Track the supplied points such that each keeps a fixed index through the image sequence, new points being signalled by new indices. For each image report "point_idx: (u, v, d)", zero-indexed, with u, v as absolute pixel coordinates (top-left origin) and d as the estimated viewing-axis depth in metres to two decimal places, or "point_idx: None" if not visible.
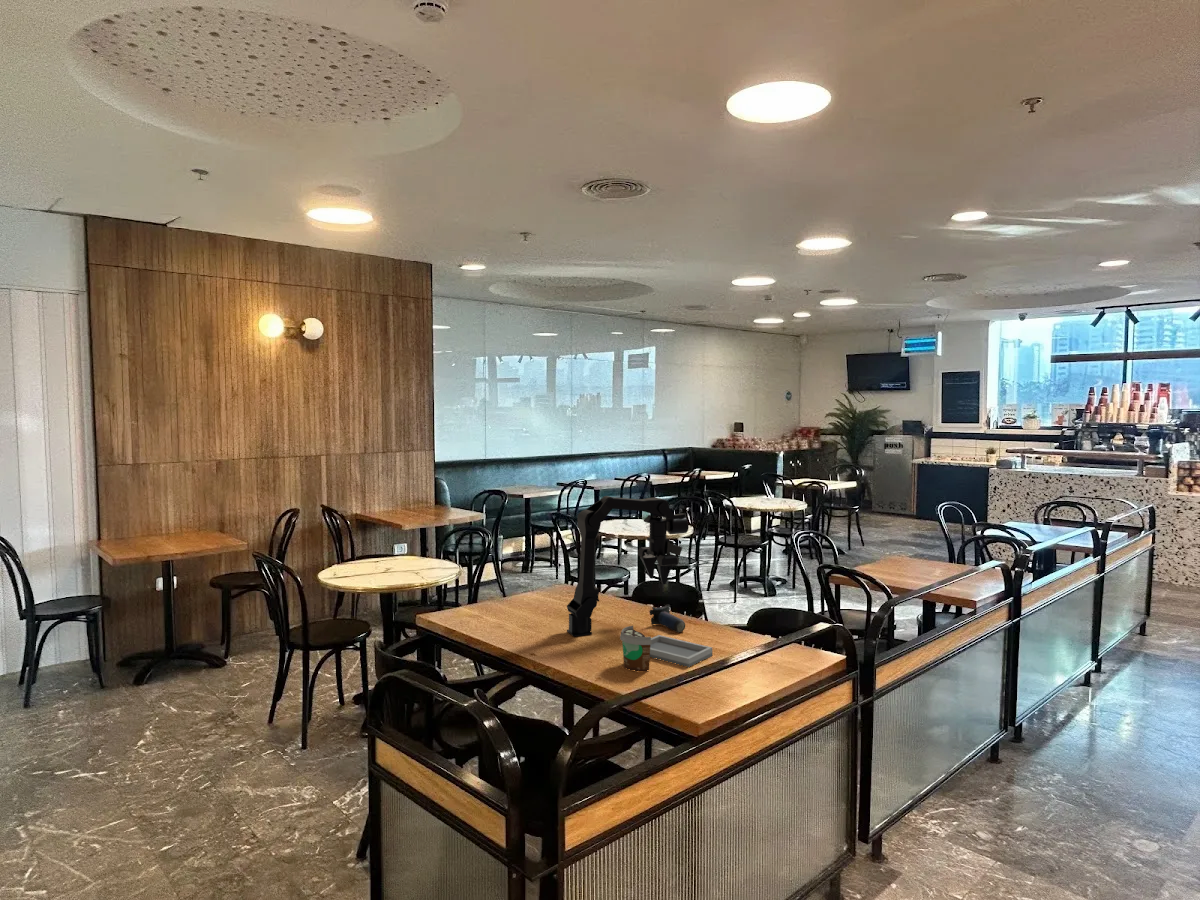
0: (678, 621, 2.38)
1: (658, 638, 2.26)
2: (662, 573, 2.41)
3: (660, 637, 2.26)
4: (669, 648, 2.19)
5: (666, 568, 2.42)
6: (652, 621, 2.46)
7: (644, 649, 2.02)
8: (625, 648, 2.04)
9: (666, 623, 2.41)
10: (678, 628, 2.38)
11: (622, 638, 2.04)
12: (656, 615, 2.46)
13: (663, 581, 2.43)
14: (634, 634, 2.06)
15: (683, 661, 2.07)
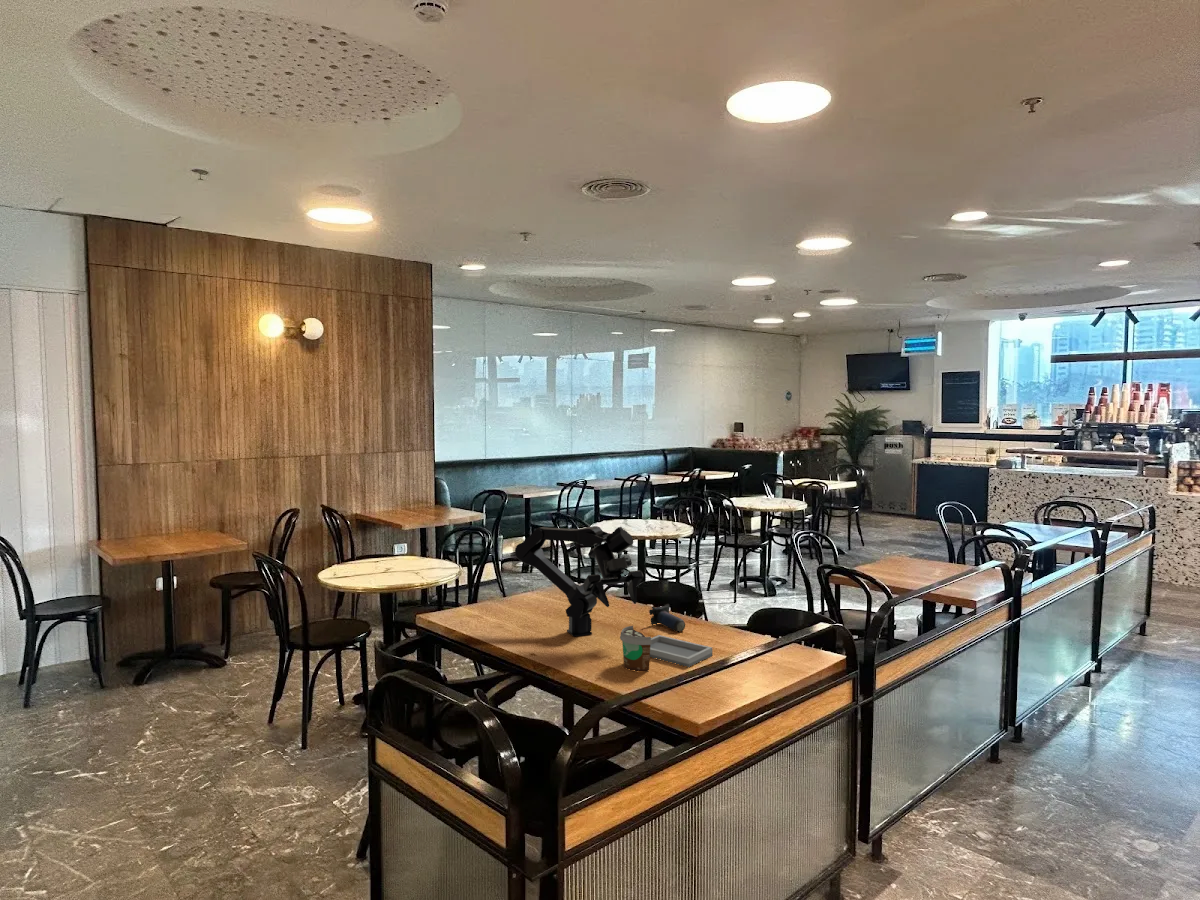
0: (678, 621, 2.39)
1: (658, 638, 2.26)
2: (599, 597, 2.22)
3: (660, 637, 2.26)
4: (669, 648, 2.19)
5: (599, 590, 2.22)
6: (652, 621, 2.46)
7: (644, 649, 2.02)
8: (625, 648, 2.04)
9: (666, 622, 2.42)
10: (678, 627, 2.39)
11: (622, 638, 2.04)
12: (656, 615, 2.47)
13: (605, 604, 2.20)
14: (634, 634, 2.06)
15: (683, 661, 2.07)
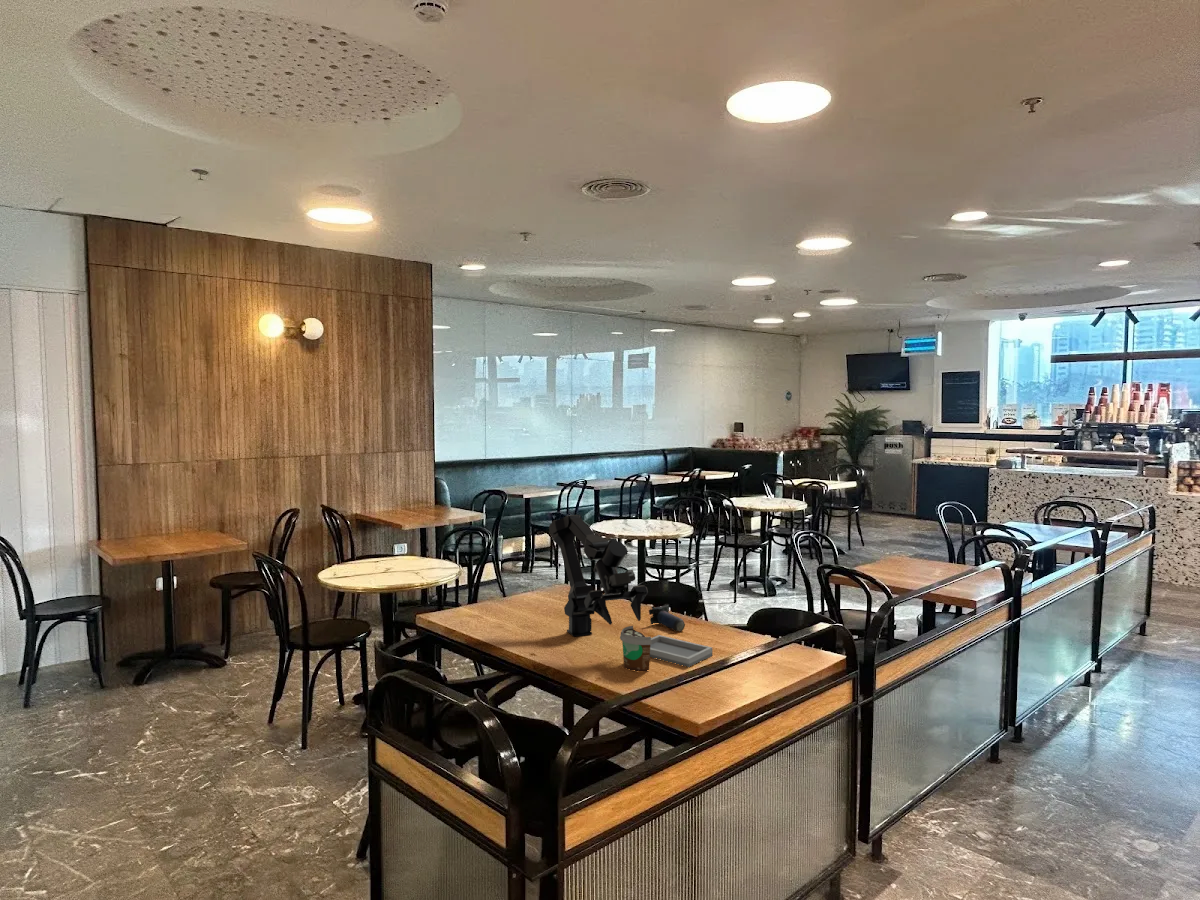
0: (678, 620, 2.39)
1: (658, 638, 2.26)
2: (601, 614, 2.11)
3: (660, 637, 2.26)
4: (669, 648, 2.19)
5: None
6: (651, 620, 2.47)
7: (644, 649, 2.02)
8: (625, 648, 2.04)
9: (666, 622, 2.42)
10: (678, 627, 2.39)
11: (622, 638, 2.04)
12: (655, 614, 2.47)
13: (608, 621, 2.09)
14: (634, 634, 2.06)
15: (683, 661, 2.07)
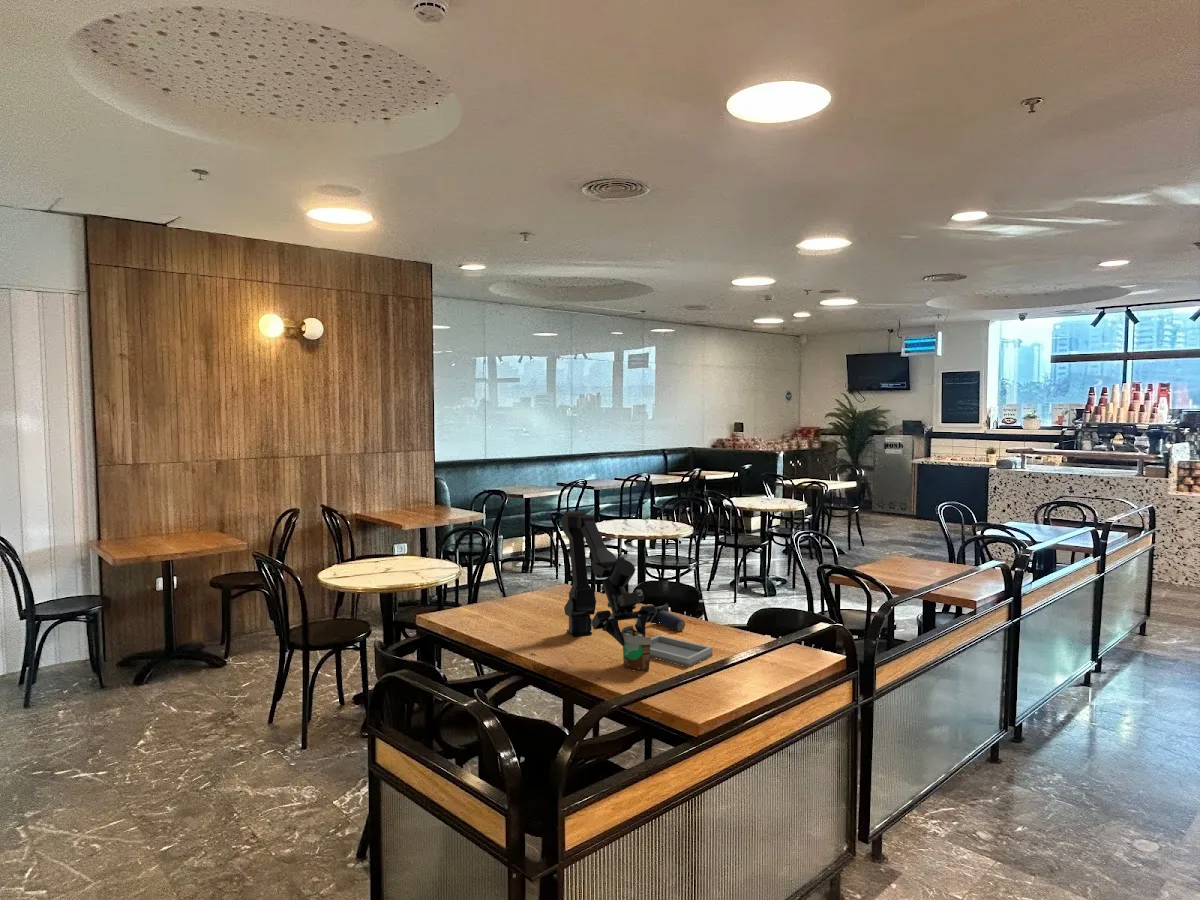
0: (678, 620, 2.40)
1: (658, 638, 2.26)
2: (613, 635, 2.06)
3: (660, 637, 2.26)
4: (669, 648, 2.19)
5: (614, 627, 2.06)
6: None
7: (644, 649, 2.02)
8: (625, 648, 2.04)
9: (666, 622, 2.42)
10: (678, 627, 2.39)
11: None
12: None
13: (620, 643, 2.04)
14: (634, 634, 2.06)
15: (683, 661, 2.07)
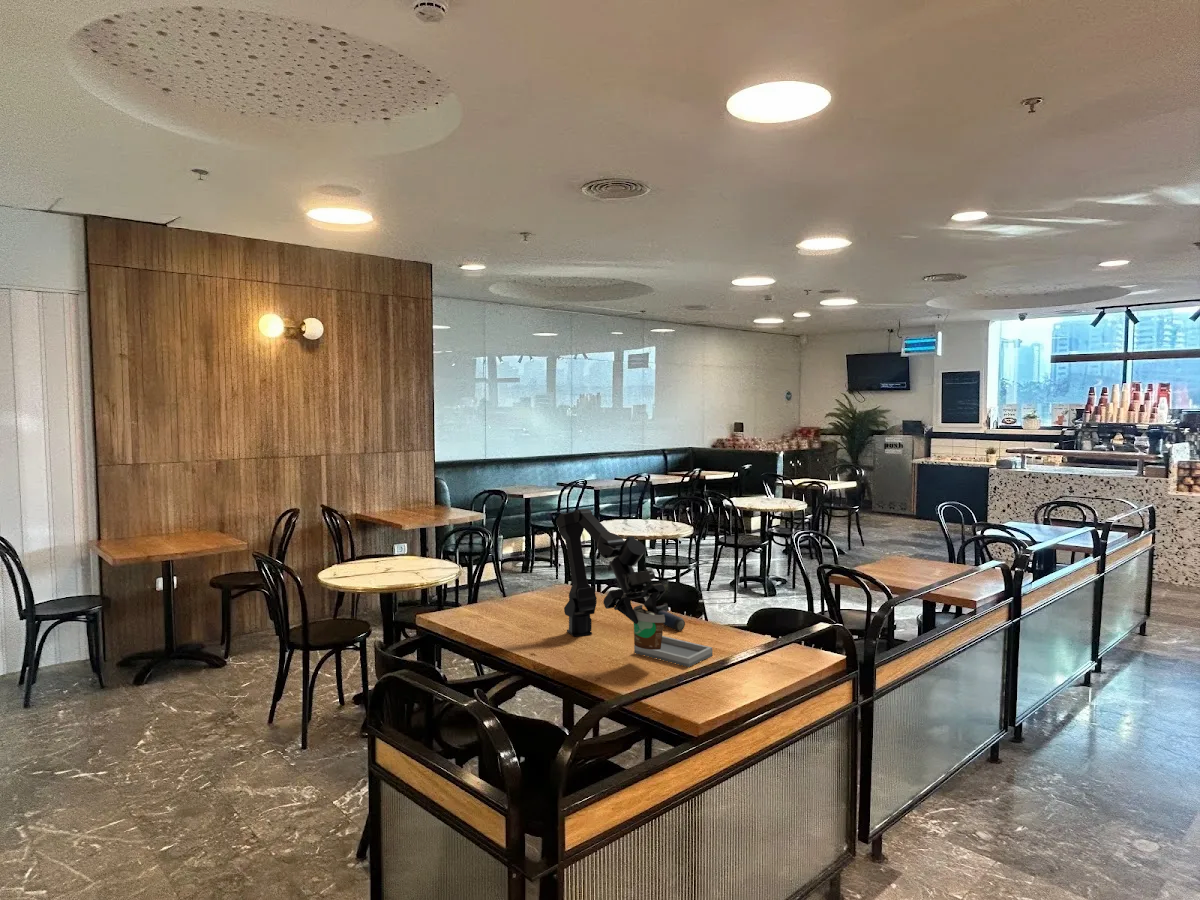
0: (678, 619, 2.40)
1: None
2: (625, 614, 2.07)
3: None
4: (669, 648, 2.19)
5: None
6: None
7: (658, 627, 2.04)
8: (637, 626, 2.06)
9: (666, 621, 2.43)
10: (678, 626, 2.40)
11: None
12: None
13: (633, 621, 2.05)
14: (646, 613, 2.08)
15: (683, 661, 2.07)
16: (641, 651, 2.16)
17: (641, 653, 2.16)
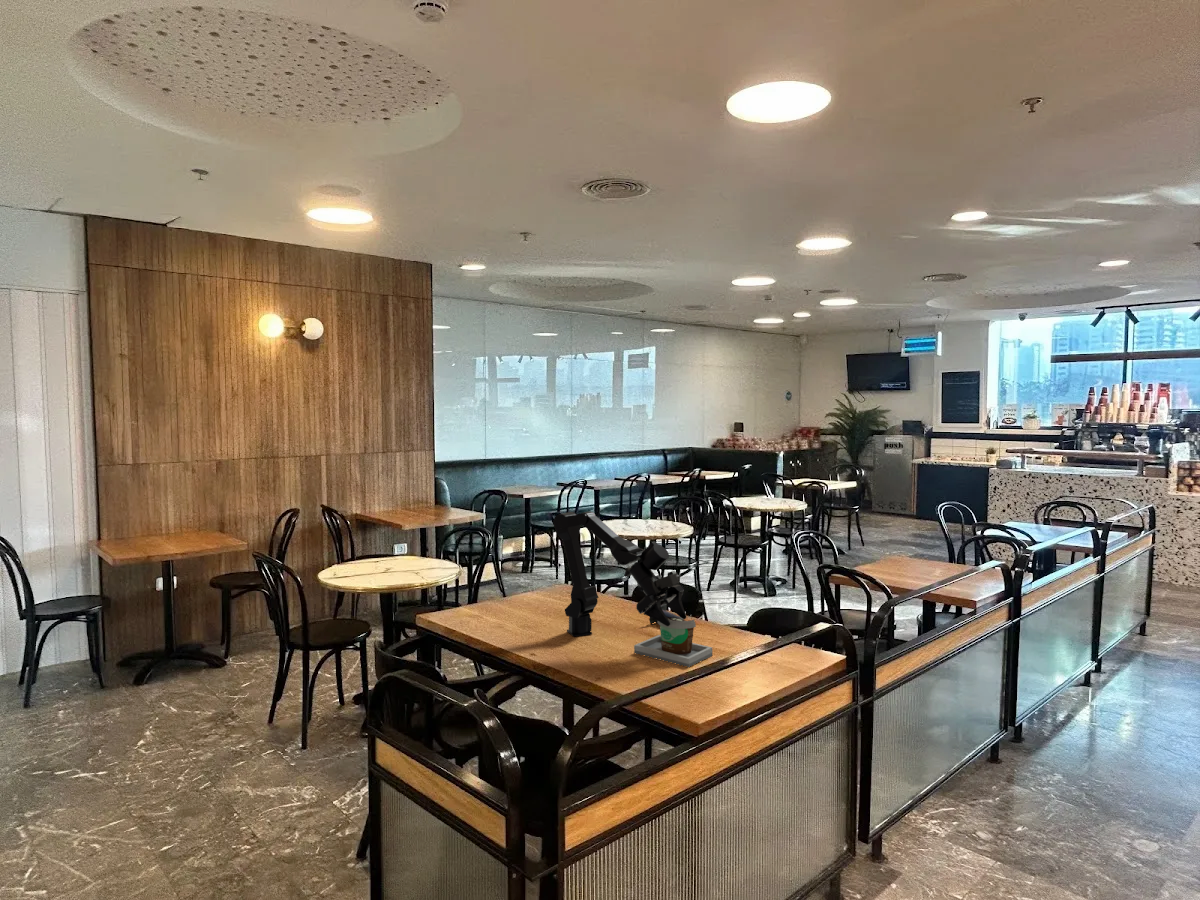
0: None
1: (658, 638, 2.26)
2: (656, 618, 2.13)
3: (660, 637, 2.26)
4: None
5: (656, 610, 2.13)
6: (650, 620, 2.48)
7: (689, 632, 2.14)
8: (669, 634, 2.14)
9: None
10: None
11: None
12: None
13: (665, 623, 2.12)
14: (673, 620, 2.17)
15: (683, 661, 2.07)
16: (641, 651, 2.16)
17: (641, 653, 2.16)
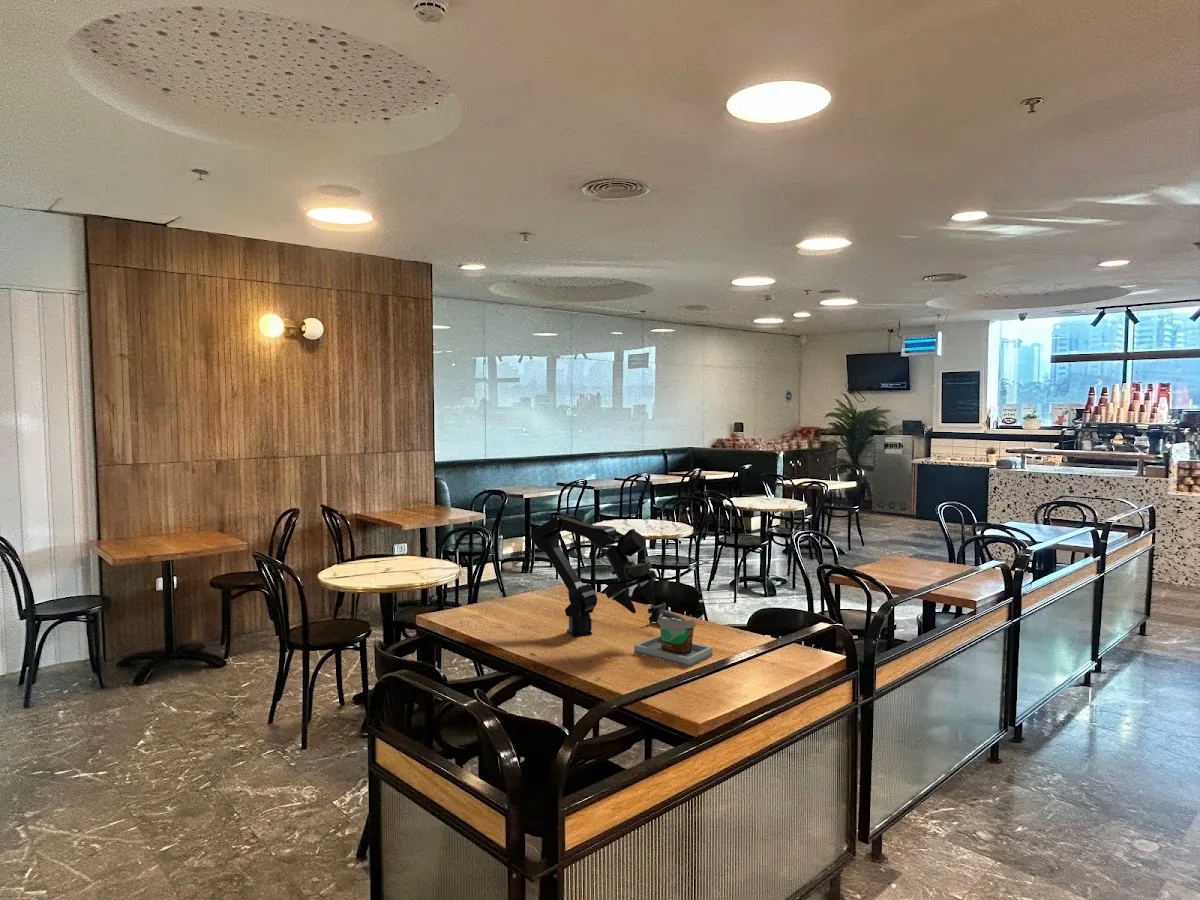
0: None
1: (658, 638, 2.26)
2: (623, 604, 2.20)
3: (660, 637, 2.26)
4: None
5: (624, 597, 2.20)
6: (650, 619, 2.48)
7: (689, 632, 2.14)
8: (669, 634, 2.14)
9: None
10: None
11: (667, 625, 2.14)
12: (654, 613, 2.48)
13: (631, 611, 2.19)
14: (673, 620, 2.17)
15: (683, 661, 2.07)
16: (641, 651, 2.16)
17: (641, 653, 2.16)
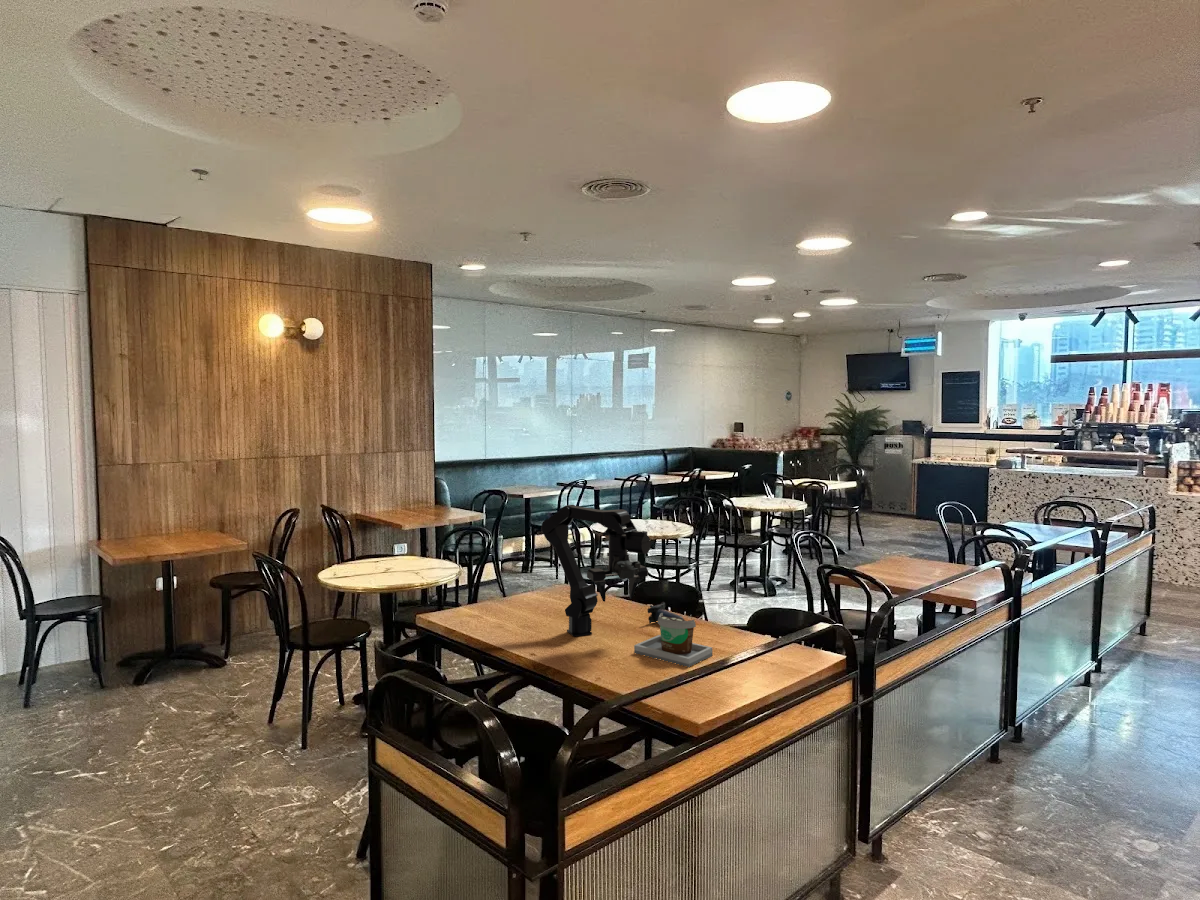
0: None
1: (658, 638, 2.26)
2: (598, 588, 2.27)
3: (660, 637, 2.26)
4: None
5: None
6: (650, 619, 2.48)
7: (689, 632, 2.14)
8: (669, 634, 2.14)
9: None
10: None
11: (667, 625, 2.14)
12: (653, 613, 2.49)
13: (602, 598, 2.27)
14: (673, 620, 2.17)
15: (683, 661, 2.07)
16: (641, 651, 2.16)
17: (641, 653, 2.16)
